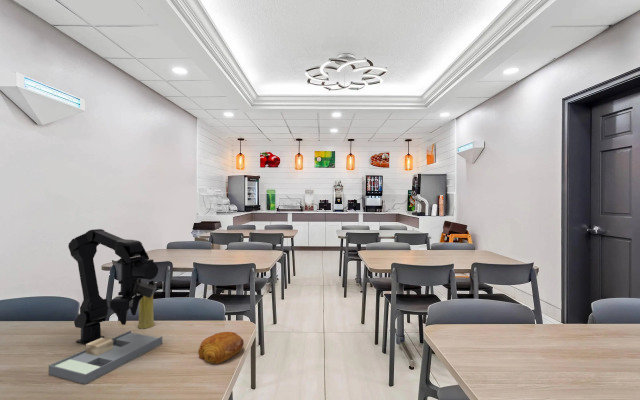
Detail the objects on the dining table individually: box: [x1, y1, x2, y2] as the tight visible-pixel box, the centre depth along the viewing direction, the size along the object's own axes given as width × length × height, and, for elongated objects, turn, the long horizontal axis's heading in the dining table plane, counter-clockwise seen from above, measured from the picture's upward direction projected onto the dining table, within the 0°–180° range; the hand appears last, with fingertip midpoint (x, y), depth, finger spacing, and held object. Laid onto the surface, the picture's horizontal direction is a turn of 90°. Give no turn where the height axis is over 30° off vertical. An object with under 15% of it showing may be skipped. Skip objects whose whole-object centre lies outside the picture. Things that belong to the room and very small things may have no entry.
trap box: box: [48, 330, 163, 385], centre depth 111 cm, size 16×28×3 cm, turn 161°
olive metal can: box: [137, 295, 155, 330], centre depth 138 cm, size 6×6×14 cm
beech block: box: [85, 337, 113, 356], centre depth 111 cm, size 6×6×3 cm
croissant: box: [197, 331, 245, 365], centre depth 114 cm, size 14×16×8 cm
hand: (129, 319), depth 117 cm, fingers open, 9 cm apart
